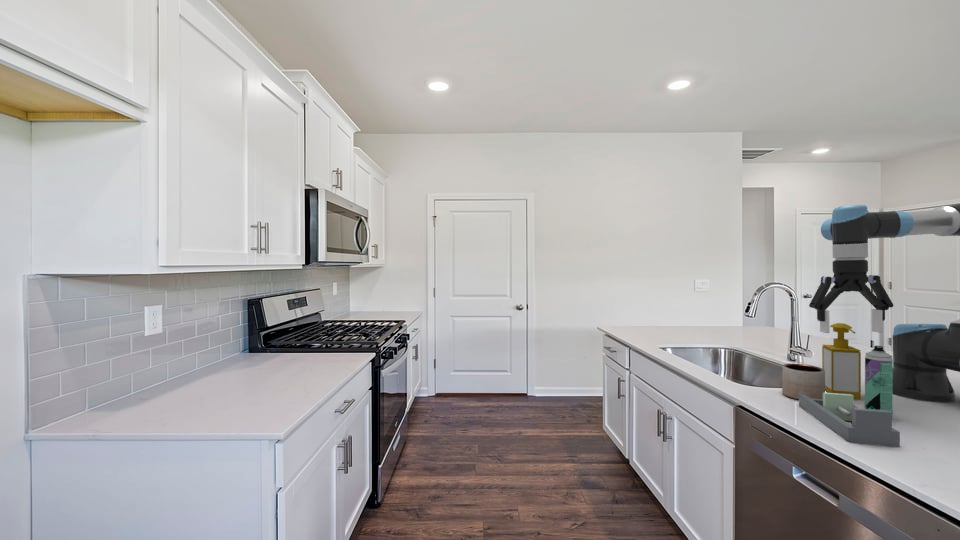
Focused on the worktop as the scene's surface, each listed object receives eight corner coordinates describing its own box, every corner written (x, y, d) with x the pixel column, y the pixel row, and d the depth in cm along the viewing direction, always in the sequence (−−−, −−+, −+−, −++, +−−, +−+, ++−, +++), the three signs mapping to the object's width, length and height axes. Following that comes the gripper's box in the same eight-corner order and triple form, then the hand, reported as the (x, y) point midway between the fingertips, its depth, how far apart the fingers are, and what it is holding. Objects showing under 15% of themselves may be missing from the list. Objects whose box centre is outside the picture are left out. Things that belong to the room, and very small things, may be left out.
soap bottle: (839, 403, 123) (839, 327, 122) (822, 390, 134) (822, 321, 134) (869, 405, 120) (870, 328, 119) (849, 392, 132) (849, 322, 131)
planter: (815, 393, 132) (815, 364, 132) (832, 404, 122) (832, 373, 122) (776, 390, 136) (776, 362, 135) (790, 400, 125) (790, 370, 125)
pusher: (850, 419, 110) (850, 394, 109) (862, 427, 105) (862, 400, 104) (822, 417, 111) (822, 392, 111) (833, 424, 106) (833, 398, 106)
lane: (838, 408, 118) (838, 381, 118) (899, 446, 94) (899, 413, 94) (799, 405, 121) (799, 379, 121) (848, 441, 97) (848, 409, 97)
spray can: (880, 413, 114) (880, 344, 114) (898, 420, 109) (898, 348, 108) (859, 412, 115) (859, 344, 114) (876, 420, 109) (876, 348, 109)
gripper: (887, 257, 117) (887, 329, 117) (794, 260, 120) (795, 330, 121) (911, 257, 109) (911, 334, 110) (811, 260, 113) (812, 334, 113)
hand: (850, 332), depth 115 cm, fingers open, 13 cm apart
